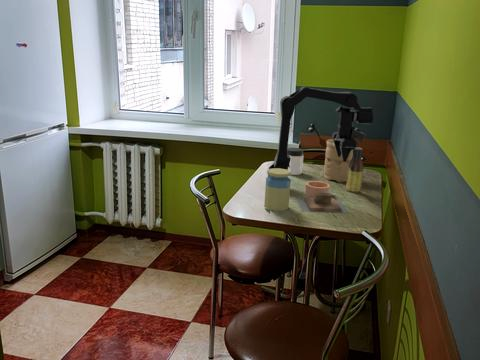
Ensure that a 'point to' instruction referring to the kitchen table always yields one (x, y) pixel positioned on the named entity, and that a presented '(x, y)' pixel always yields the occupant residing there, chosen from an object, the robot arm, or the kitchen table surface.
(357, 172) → the sauce bottle
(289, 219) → the kitchen table surface
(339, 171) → the container
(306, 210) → the charcoal mat
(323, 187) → the terracotta bowl
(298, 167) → the jar
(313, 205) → the walnut cover
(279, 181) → the jar
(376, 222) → the kitchen table surface
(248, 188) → the kitchen table surface
